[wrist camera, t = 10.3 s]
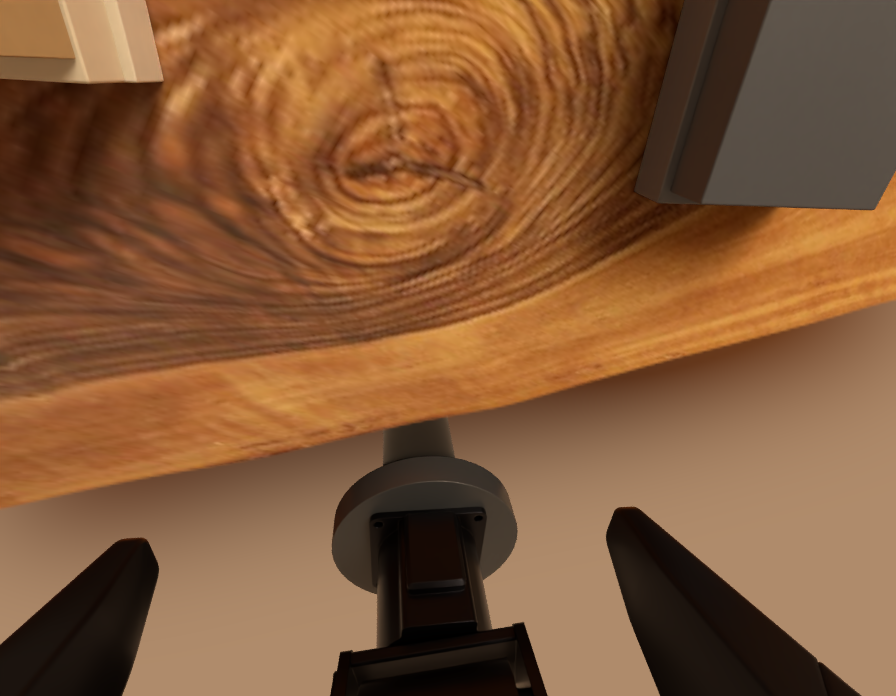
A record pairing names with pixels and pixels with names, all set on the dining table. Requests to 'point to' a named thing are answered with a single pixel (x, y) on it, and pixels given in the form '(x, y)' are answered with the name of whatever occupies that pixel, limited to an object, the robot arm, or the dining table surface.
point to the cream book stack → (97, 46)
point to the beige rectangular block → (33, 30)
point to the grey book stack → (776, 106)
